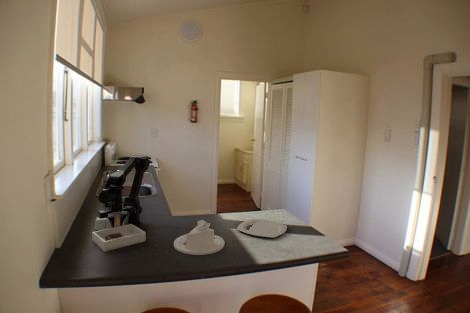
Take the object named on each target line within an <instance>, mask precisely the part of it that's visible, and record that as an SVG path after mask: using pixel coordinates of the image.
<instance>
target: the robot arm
mask: <svg viewBox="0 0 470 313" xmlns="http://www.w3.org/2000/svg"><path fill="white" fill-rule="evenodd" d="M150 164H151V161H150V159H149V157H138V156H129V157H128V160H127V161H126V162H125V163H124V164H123V166H122V167H121V168H120V169H119V170H117V171H115V172H113V173H112V174H111V175H109V177H108V178H107V181H106V183H105V185H104V187H103V189H102V190H101V192H100V193H99V194H98V199H97V200H98V202H100V203H101V204H102V207H103V208H102V210H97V212H96V217H98V218H100V219H103V218H108V219H109V221H110V224H111V226H112V228H114V217H113V216H114V215H116V214H119V215H118V216H120V226H122V224H123V221H124V222H125V223H127V225H128V224H133V225H137V224H142V222H141V220H140V219H141V218H140V217H141V214H142V213H143V207H142V206H141V200H140V197H139V195H140V191H141V186H142V183H143V178H144V176H145V173H146V172H147V171H148V170H149V166H150ZM132 170H135V172H134V174H133V175H134V176H133V180H132V185H131V187H130V191H129V195H128V196H125V198H124V201H123V190H125V187H124V185H125V183H126V181H127V177H128V175H129V174H130V173H131V171H132ZM107 210H108V211H107ZM125 219H126V220H125Z"/></svg>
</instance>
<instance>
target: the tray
mask: <svg viewBox="0 0 470 313" xmlns="http://www.w3.org/2000/svg"><path fill="white" fill-rule="evenodd" d="M115 233H121V234H122V235H123V236H125V237H121V238H118V237H117V239H114V238H113V240H108V241H106V240H105V236H106V235H110V234H115ZM146 236H147V235H146V231H144V230H142V229H141V228H139V227H138V226H136V225H135V224H128V223H127V224H124V225H123V226H119V227H114V228H109V229H104V230H95V231H92V232H91V241H92V242H93V243H94V244H95V245H96V246H97V247H98V248H99V249H101V250H102V252H104V253H106V252H109V251H114V250H117V249H121V248H125V247H129V246H131V245H135V244H139V243H140V244H141V243H145V242H147V241H146Z"/></svg>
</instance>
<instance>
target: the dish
mask: <svg viewBox="0 0 470 313" xmlns="http://www.w3.org/2000/svg"><path fill="white" fill-rule="evenodd" d="M196 222H197V225H196V226H195V227H194V228H193V229H192V230H190V231H189V233H186V234H183V235H181V236H179V237H177V238H175V239H174V241H173V247H174V249H175V250H176V251H178V252H180V253H183V254H187V255H193V256H194V255H195V256H204V255H205V256H206V255H209V254H210V255H211V254H215V253H217V252H220V251H221V250H223V249H224V247H225V244H226V242H225V240H224V238H222V237H221V236H219V235H218V234H215V229H212V228H209V227H210V225H211V222H207V221H206V220H203V219H201V220H198V221H196ZM214 238H215V239H214Z"/></svg>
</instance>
